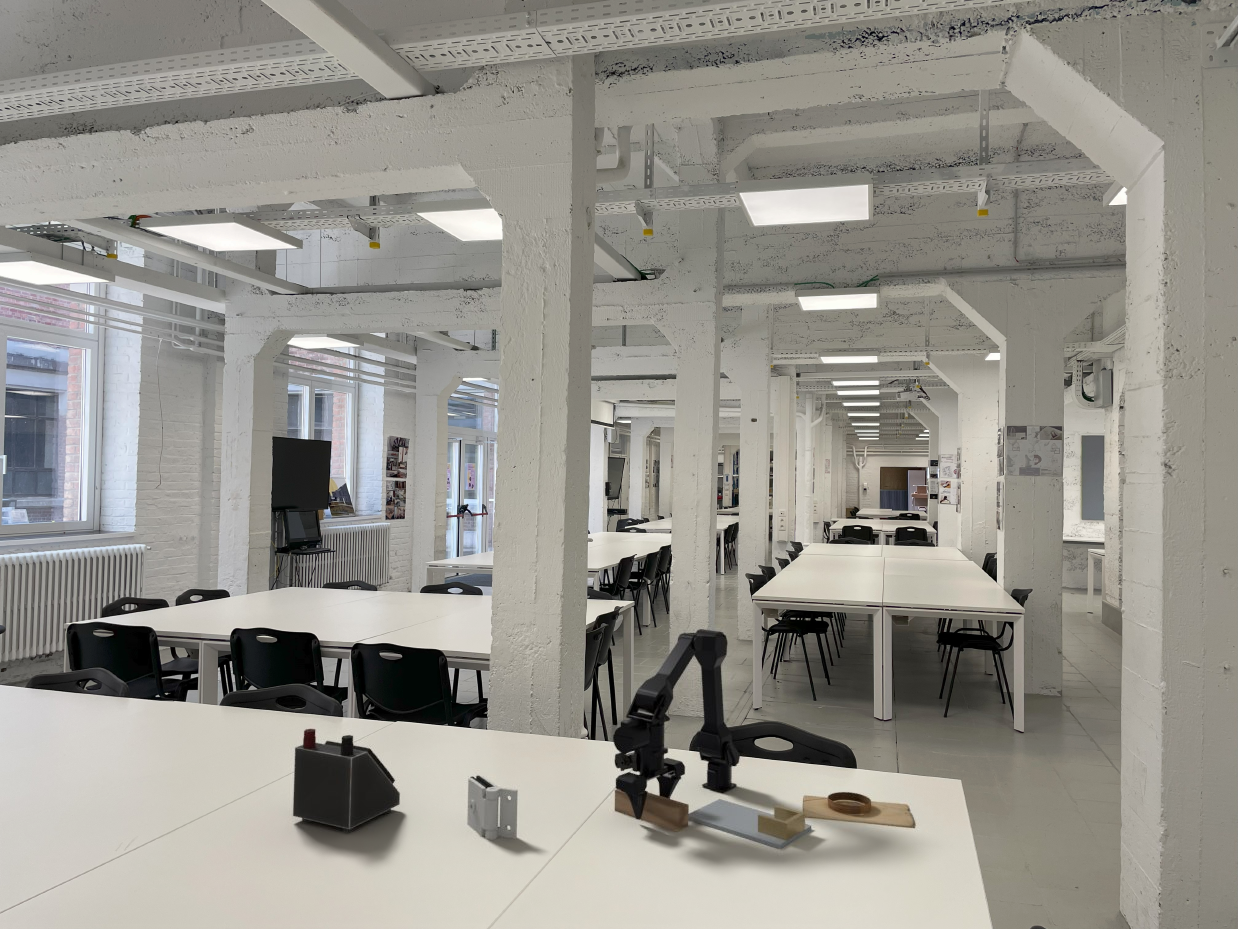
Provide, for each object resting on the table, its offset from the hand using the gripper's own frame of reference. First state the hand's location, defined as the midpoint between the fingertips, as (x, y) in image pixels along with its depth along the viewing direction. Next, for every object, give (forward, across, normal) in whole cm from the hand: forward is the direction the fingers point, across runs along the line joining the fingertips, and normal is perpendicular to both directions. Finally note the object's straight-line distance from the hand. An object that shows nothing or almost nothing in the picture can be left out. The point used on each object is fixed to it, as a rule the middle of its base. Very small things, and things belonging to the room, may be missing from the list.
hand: (650, 813), depth 188 cm
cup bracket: (0, -12, +26) cm, 29 cm away
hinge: (+1, +29, -21) cm, 36 cm away
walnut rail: (+1, 0, 0) cm, 1 cm away
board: (+2, -36, +32) cm, 49 cm away
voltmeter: (+1, +45, -51) cm, 68 cm away
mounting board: (+1, -12, +18) cm, 22 cm away
